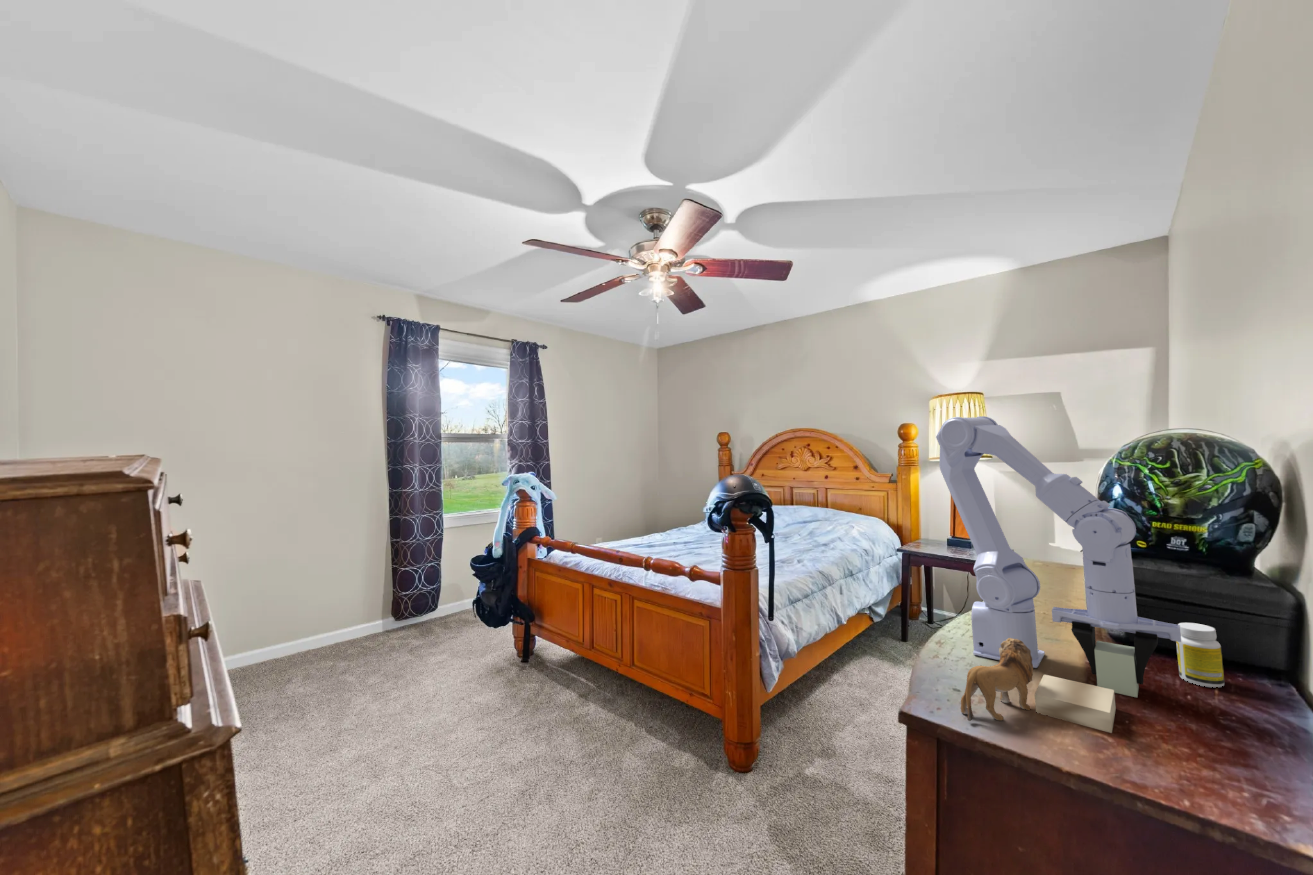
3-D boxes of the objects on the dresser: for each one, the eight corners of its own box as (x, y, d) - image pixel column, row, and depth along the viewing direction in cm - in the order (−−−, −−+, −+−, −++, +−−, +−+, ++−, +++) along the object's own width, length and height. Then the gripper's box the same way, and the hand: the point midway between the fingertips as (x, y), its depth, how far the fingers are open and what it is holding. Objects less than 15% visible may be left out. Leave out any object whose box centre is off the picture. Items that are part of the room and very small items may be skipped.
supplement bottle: (1234, 689, 74) (1229, 632, 74) (1196, 688, 75) (1191, 631, 75) (1206, 674, 78) (1201, 621, 79) (1170, 673, 79) (1166, 621, 80)
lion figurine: (1006, 688, 78) (1002, 631, 78) (1046, 702, 73) (1041, 641, 73) (951, 716, 71) (946, 653, 71) (990, 734, 66) (985, 666, 66)
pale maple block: (1036, 715, 71) (1034, 694, 71) (1045, 693, 76) (1043, 674, 76) (1112, 735, 65) (1109, 712, 65) (1115, 711, 70) (1114, 689, 70)
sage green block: (1097, 688, 76) (1094, 649, 76) (1100, 678, 79) (1097, 640, 79) (1137, 697, 73) (1133, 656, 73) (1138, 686, 76) (1135, 647, 76)
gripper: (1046, 586, 79) (1053, 672, 78) (1177, 603, 69) (1186, 702, 68) (1053, 577, 84) (1059, 658, 83) (1176, 591, 73) (1185, 683, 73)
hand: (1117, 676), depth 76 cm, fingers closed on sage green block, 4 cm apart
